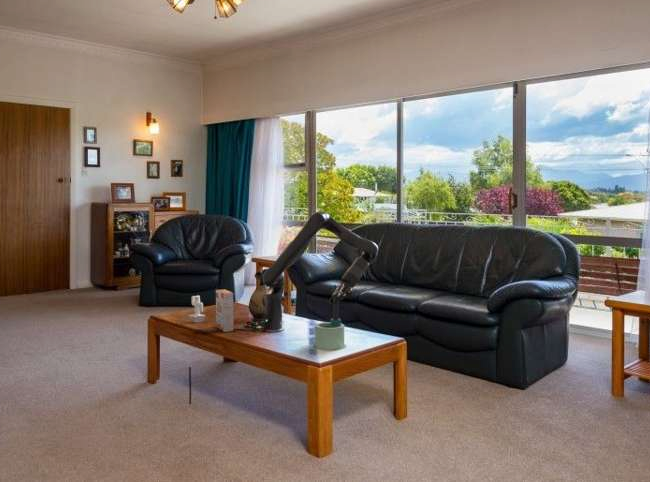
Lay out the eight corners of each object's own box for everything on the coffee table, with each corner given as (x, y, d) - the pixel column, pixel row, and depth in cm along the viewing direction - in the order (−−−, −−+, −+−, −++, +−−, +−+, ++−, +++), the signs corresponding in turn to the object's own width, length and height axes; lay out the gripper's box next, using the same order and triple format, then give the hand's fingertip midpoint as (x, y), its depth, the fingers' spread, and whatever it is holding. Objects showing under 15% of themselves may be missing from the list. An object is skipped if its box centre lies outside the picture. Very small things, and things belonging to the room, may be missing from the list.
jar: (314, 349, 262) (314, 328, 262) (315, 342, 276) (315, 322, 276) (344, 349, 262) (344, 328, 262) (344, 342, 276) (344, 322, 276)
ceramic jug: (262, 322, 322) (263, 270, 322) (243, 319, 330) (243, 269, 331) (281, 318, 335) (281, 268, 336) (262, 315, 344) (262, 266, 345)
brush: (330, 326, 267) (330, 295, 267) (330, 324, 272) (330, 293, 272) (341, 326, 267) (340, 295, 267) (340, 324, 272) (340, 293, 272)
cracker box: (215, 327, 309) (215, 289, 309) (225, 326, 312) (226, 289, 312) (222, 332, 297) (222, 293, 297) (233, 331, 299) (233, 292, 300)
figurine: (196, 323, 319) (196, 297, 319) (187, 321, 325) (187, 295, 325) (207, 321, 324) (207, 295, 324) (197, 319, 331) (197, 294, 331)
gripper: (339, 269, 279) (319, 296, 272) (356, 272, 268) (336, 300, 261) (348, 279, 282) (328, 306, 275) (365, 282, 271) (345, 310, 264)
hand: (332, 303), depth 268 cm, fingers closed on brush, 2 cm apart
